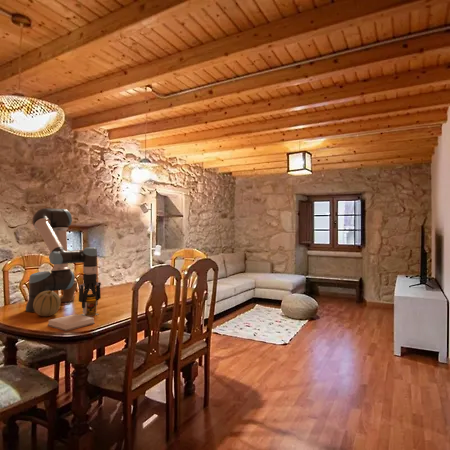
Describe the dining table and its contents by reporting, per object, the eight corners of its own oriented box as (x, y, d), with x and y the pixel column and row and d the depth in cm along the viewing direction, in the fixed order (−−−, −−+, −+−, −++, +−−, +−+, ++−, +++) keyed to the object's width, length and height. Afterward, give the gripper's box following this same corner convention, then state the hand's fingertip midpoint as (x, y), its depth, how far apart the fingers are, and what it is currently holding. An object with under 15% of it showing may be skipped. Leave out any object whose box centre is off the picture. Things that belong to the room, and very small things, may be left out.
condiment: (88, 316, 203) (89, 296, 203) (80, 314, 208) (80, 294, 208) (99, 314, 209) (99, 294, 209) (90, 312, 214) (91, 292, 214)
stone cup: (75, 302, 242) (75, 280, 242) (56, 303, 239) (57, 281, 239) (78, 298, 256) (79, 277, 257) (61, 299, 253) (61, 278, 253)
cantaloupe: (44, 312, 213) (44, 287, 213) (66, 313, 211) (66, 288, 211) (26, 318, 199) (26, 292, 199) (49, 319, 196) (50, 292, 196)
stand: (47, 325, 184) (47, 320, 184) (76, 319, 198) (76, 313, 198) (66, 331, 175) (66, 325, 175) (94, 323, 189) (94, 318, 189)
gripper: (79, 275, 198) (79, 316, 198) (107, 272, 214) (107, 310, 214) (71, 274, 203) (71, 314, 202) (99, 271, 219) (99, 308, 218)
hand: (89, 312), depth 208 cm, fingers closed on condiment, 6 cm apart
